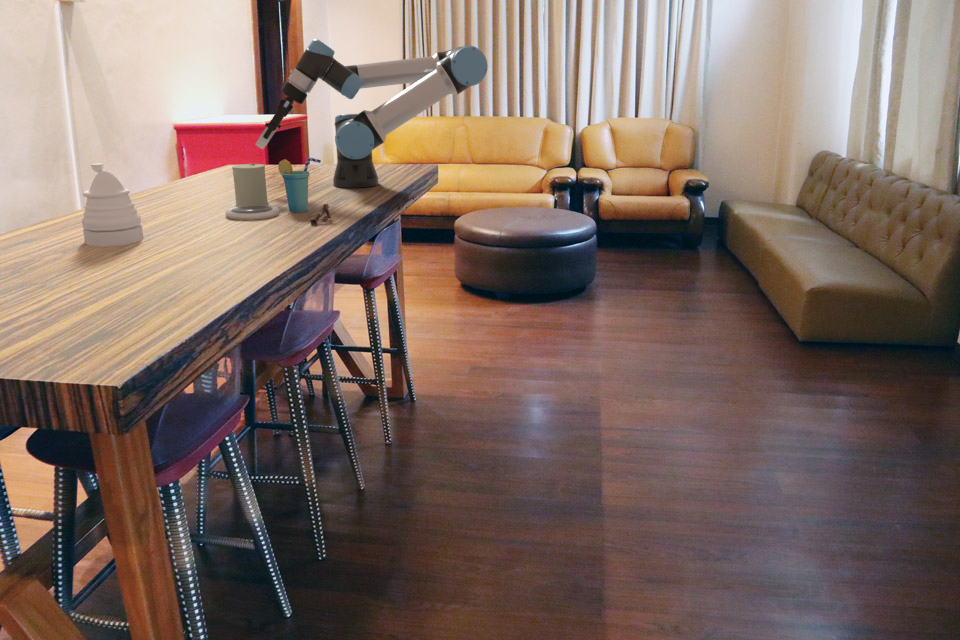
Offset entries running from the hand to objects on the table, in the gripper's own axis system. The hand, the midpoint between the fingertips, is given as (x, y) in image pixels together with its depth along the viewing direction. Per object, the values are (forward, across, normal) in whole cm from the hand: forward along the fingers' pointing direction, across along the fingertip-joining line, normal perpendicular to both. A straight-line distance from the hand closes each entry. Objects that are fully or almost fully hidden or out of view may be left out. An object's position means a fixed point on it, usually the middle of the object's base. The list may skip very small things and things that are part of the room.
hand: (260, 144), depth 252 cm
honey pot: (+30, +63, -15) cm, 71 cm away
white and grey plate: (+13, +36, +8) cm, 39 cm away
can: (+14, +21, +7) cm, 26 cm away
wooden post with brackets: (+2, +50, +24) cm, 55 cm away
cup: (+5, +32, +19) cm, 38 cm away
